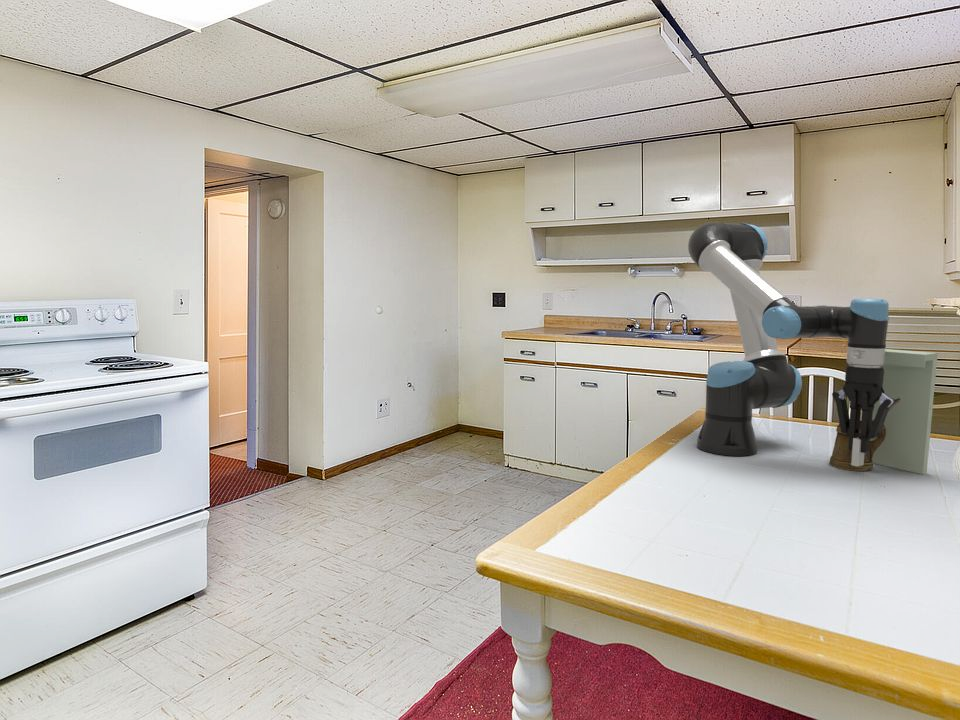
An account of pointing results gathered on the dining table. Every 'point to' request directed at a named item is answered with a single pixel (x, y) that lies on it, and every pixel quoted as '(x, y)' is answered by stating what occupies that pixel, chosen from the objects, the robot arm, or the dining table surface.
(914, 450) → the sage green upright panel
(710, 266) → the robot arm
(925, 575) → the dining table surface
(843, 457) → the wooden mug
